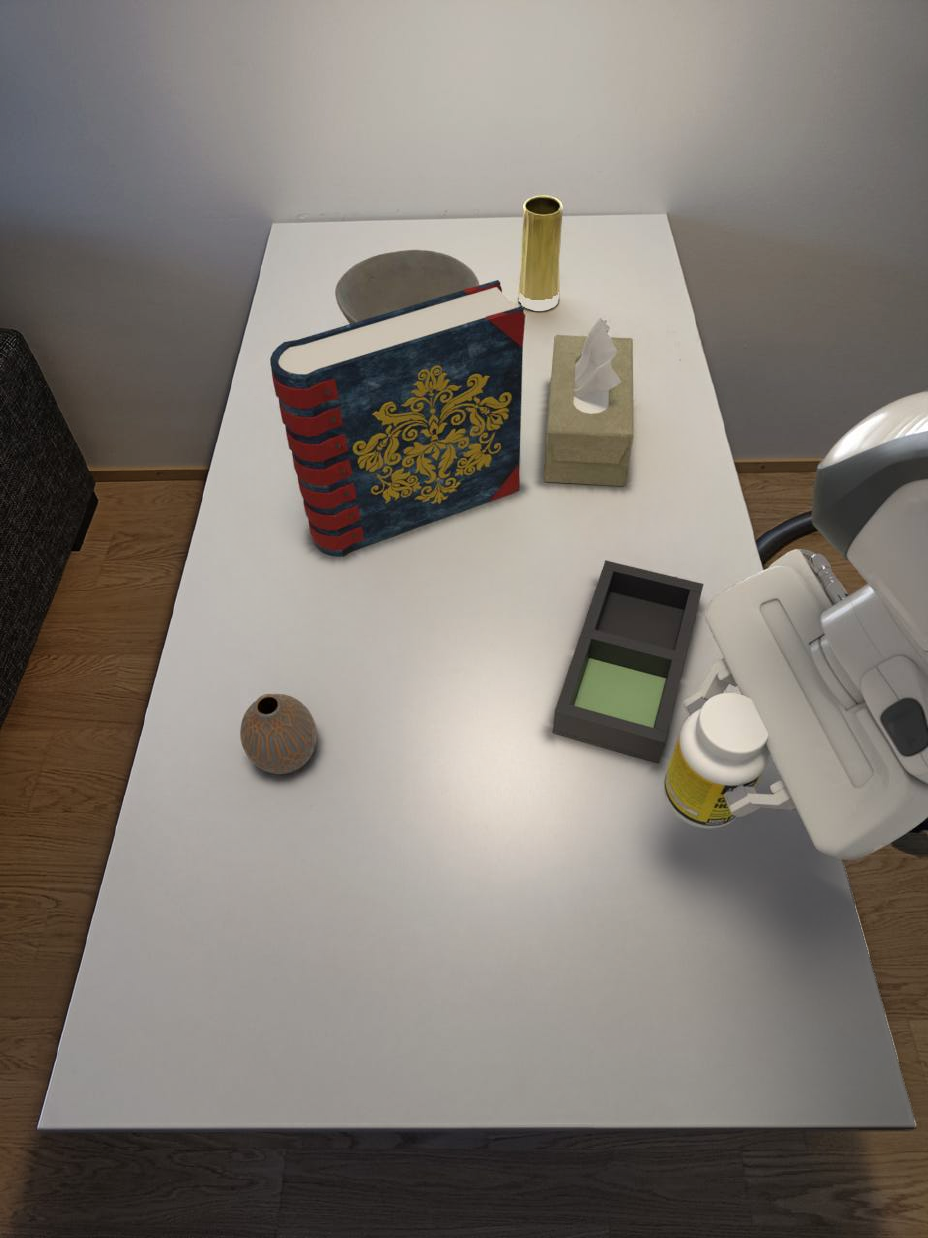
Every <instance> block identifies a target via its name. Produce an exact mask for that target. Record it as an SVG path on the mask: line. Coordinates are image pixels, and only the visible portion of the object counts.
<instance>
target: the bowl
mask: <svg viewBox="0 0 928 1238" xmlns="http://www.w3.org/2000/svg"><path fill="white" fill-rule="evenodd" d="M479 285H480V281H479V278H478V277H477V275H476V274H475V272H474V271H473V269H472V268H470V267H469V266H468V265H467V264H465V263H464V262H463V261H461V260H459V259H458V258H455V257H453V256H451V255H449V254H446V253H443V252H439V251H438V252H437V251H434V250H426V249H425V250H424V249H405V250H398V251H397V250H396V251H390V252H385V253H380V254H377V255H374V256H371V257H368V258H366V259H363V260H362V261H360V262H358V263H356V264H354V265H352V267H350V268H349V269H348V270H347V271H345V273H343V274H342V276H341V277H340V278H339V280H338V281H337V283H336V286H335V289H334V291H335V292H334V294H335V300H336V303H337V306H338V308H339V310H340V312H341V313H342V315H343V316H344V318H345V319H346V320H347V322H348V323H349V324H352V323H355V322H358V321H362V320H365V319H369V318H372V317H375V316H379V315H382V314H385V313H389V312H392V311H395V310H399V309H402V308H405V307H409V306H412V305H415V304H419V303H422V302H425V301H429V300H432V299H436V298H439V297H442V296H446V295H449V294H452V293H456V292H459V291H462V290H464V289H467V288H471V287H475V286H479Z"/></svg>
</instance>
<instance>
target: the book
mask: <svg viewBox="0 0 928 1238" xmlns="http://www.w3.org/2000/svg"><path fill="white" fill-rule="evenodd" d="M500 281H501V280H499V279H496V280H493V281H489V282H485V283H483V284H479V286H475V287H471V288H467V289H464V290H462V291H459V292H456V293H452V294H449V295H446V296H442V297H439V298H436V299H432V300H429V301H425V302H422V303H419V304H415V305H412V306H409V307H405V308H402V309H399V310H395V311H392V312H389V313H385V314H382V315H379V316H375V317H372V318H369V319H365V320H362V321H358V322H355V323H352V324H350V323H349V324H345V325H342V326H338V327H335V328H331V329H329V330H325V331H322V332H318V333H315V334H313V335H308V336H305V337H302V338H298V339H294V340H293V339H292V340H288V341H283V342H282V343H281V344H279V345H278V346H277V347H276V348H275V349H274V351H272V353H271V356H270V359H269V361H270V370H271V378H272V383H273V389H274V393H275V396H276V397H277V398H278V405H279V411H280V412H279V413H280V416H281V422H282V424H283V425H284V426H285V427H284V429H285V435H286V440H287V444H288V449H289V450H290V451H291V456H292V462H293V468H294V469H293V470H294V471H295V473H296V476H297V477H296V478H297V484H298V490H299V492H300V495H301V497H302V501H303V509H304V512H305V516H306V518H307V520H308V528H309V533H310V536H311V539H312V541H313V542H314V544H315V546H316V548H317V549H318V550H319V551H321V553H324V554H326V555H329V556H333V557H345V556H346V555H348V554H349V553H352V552H353V551H357V550H359V549H361V548H364V547H367V546H370V545H372V544H376V543H378V542H381V541H383V540H386V539H390V538H392V537H394V536H397V535H400V534H403V533H406V532H409V531H412V530H413V529H417V528H419V527H423V526H425V525H428V524H431V523H433V522H436V521H439V520H442V519H445V518H447V517H450V516H452V515H456V514H458V513H460V512H463V511H466V510H469V509H472V508H476V507H477V506H480V505H483V504H486V503H488V502H490V503H491V502H492V501H495V500H498V499H501V498H504V497H506V496H509V495H512V494H514V493H517V492H519V491H520V470H521V469H520V468H521V431H522V428H521V427H522V394H523V390H522V389H523V356H524V355H523V353H524V349H523V348H524V336H525V324H526V314H525V308H523V307H522V306H521V305H520V306H517V307H515V306H514V305H513V304H512V302H510V300H509V299H508V298H507V296H505V294H504V293H503V288H502V286H501V282H500Z"/></svg>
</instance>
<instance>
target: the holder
mask: <svg viewBox="0 0 928 1238" xmlns="http://www.w3.org/2000/svg"><path fill="white" fill-rule="evenodd" d="M603 563H604V564H603V566H602V569H601V572H600V575H599V578H598V581H597V584H596V587H595V590H594V593H593V596H592V599H591V602H590V605H589V607H588V610H587V613H586V617H585V619H584V623H583V626H582V629H581V632H580V635H579V637H578V640H577V643H576V646H575V650H574V653H573V655H572V657H571V658H572V659H571V661H570V664H569V667H568V671H567V673H566V675H565V679H564V682H563V686H562V687H561V691H560V694H559V697H558V700H557V703H556V706H555V709H554V714H553V724H552V725H553V726H552V734H555V735H560V736H563V737H566V738H569V739H572V740H575V741H580V742H582V743H586V744H590V745H594V746H596V747H600V748H603V749H607V750H611V751H614V752H617V753H621V754H624V755H628V756H632V757H635V758H638V759H641V760H646V761H649V762H651V763H654V764H655V763H656V764H659V762H660V759H661V755H662V752H663V750H664V747H665V743H666V739H667V735H668V731H669V727H670V722H671V719H672V716H673V715H672V714H673V711H674V707H675V703H676V699H677V695H678V691H679V686H680V682H681V678H682V674H683V670H684V666H685V661H686V657H687V653H688V650H689V646H690V641H691V638H692V633H693V628H694V625H695V620H696V616H697V614H698V608H699V605H700V600H701V596H702V593H703V589H704V583H701V582H698V581H693V580H689V579H684V578H681V577H677V576H672V575H668V574H664V573H660V572H657V571H656V572H655V571H652V570H647V569H643V568H640V567H639V568H638V567H636V566H631V565H628V564H627V565H626V564H622V563H618V562H615V561H610V560H604V562H603Z"/></svg>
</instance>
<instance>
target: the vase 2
mask: <svg viewBox="0 0 928 1238" xmlns="http://www.w3.org/2000/svg"><path fill="white" fill-rule="evenodd" d="M563 208H564V206H563V204H562V201H560V200H559V199H558V198H556V197H553V196H551V195H536V196H532V197H530V198H527V200H525V201H524V203H523V206H522V234H521V248H520V249H521V250H520V267H519V282H518V283H519V284H518V295H517V298H518V297H519V293H521V294H522V295H523V296H524V297H525V298H529V299H531V300H545V299H552V298H553V296H556V295H558V292H559V295H560V253H561V242H562V241H561V240H562V227H563V212H564V211H563V210H564V209H563Z"/></svg>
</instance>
